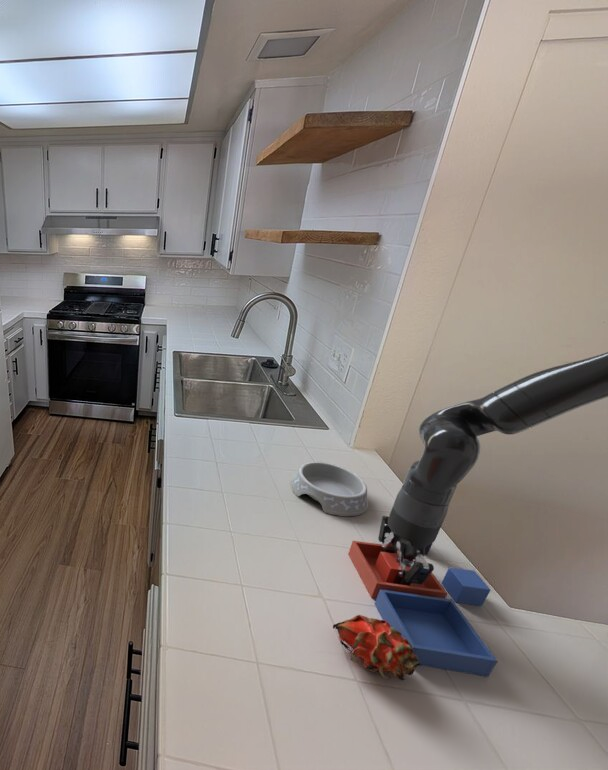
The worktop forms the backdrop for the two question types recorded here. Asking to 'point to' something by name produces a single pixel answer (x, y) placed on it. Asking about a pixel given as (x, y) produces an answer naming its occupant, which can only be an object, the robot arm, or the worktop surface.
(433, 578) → the red bin
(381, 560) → the red block
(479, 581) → the blue block
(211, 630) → the worktop surface
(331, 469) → the dog bowl
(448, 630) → the blue bin
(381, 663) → the dragon fruit
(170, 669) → the worktop surface
